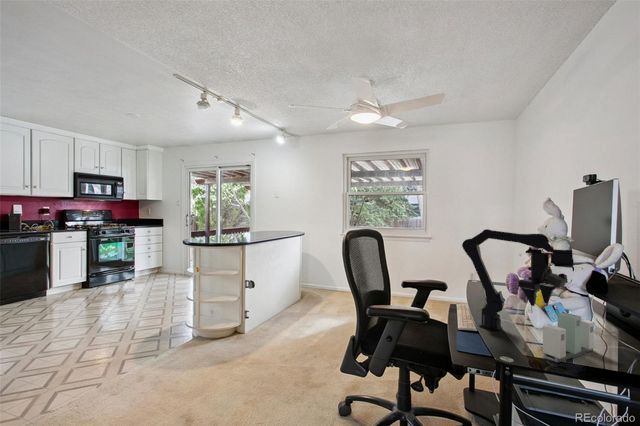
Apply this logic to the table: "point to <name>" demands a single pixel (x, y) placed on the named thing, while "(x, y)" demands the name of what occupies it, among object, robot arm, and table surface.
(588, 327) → the mounted modules
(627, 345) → the table surface
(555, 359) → the rail
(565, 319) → the block
